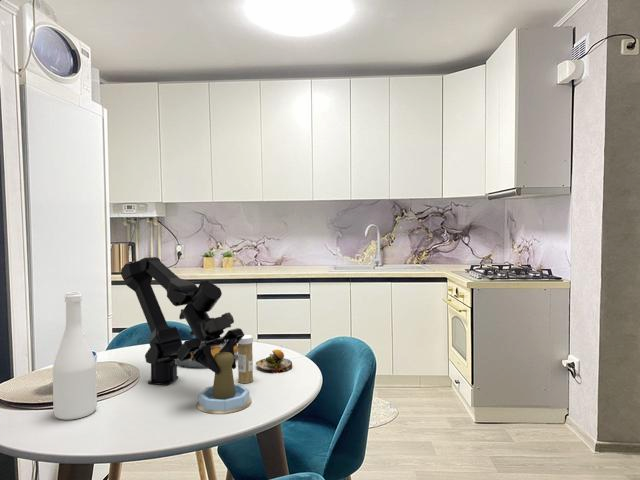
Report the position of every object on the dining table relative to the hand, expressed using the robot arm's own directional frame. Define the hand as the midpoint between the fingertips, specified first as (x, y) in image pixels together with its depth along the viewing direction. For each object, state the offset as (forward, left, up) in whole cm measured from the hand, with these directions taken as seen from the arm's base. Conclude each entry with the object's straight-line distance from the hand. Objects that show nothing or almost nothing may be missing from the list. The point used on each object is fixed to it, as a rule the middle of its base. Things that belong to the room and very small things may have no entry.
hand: (227, 370), depth 121 cm
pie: (-21, +37, -9) cm, 43 cm away
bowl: (-1, +1, -9) cm, 9 cm away
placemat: (-1, +1, -9) cm, 9 cm away
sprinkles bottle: (-1, +18, -9) cm, 20 cm away
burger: (+4, +32, -9) cm, 33 cm away
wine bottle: (-35, -11, -9) cm, 38 cm away
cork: (-1, +1, -7) cm, 7 cm away
